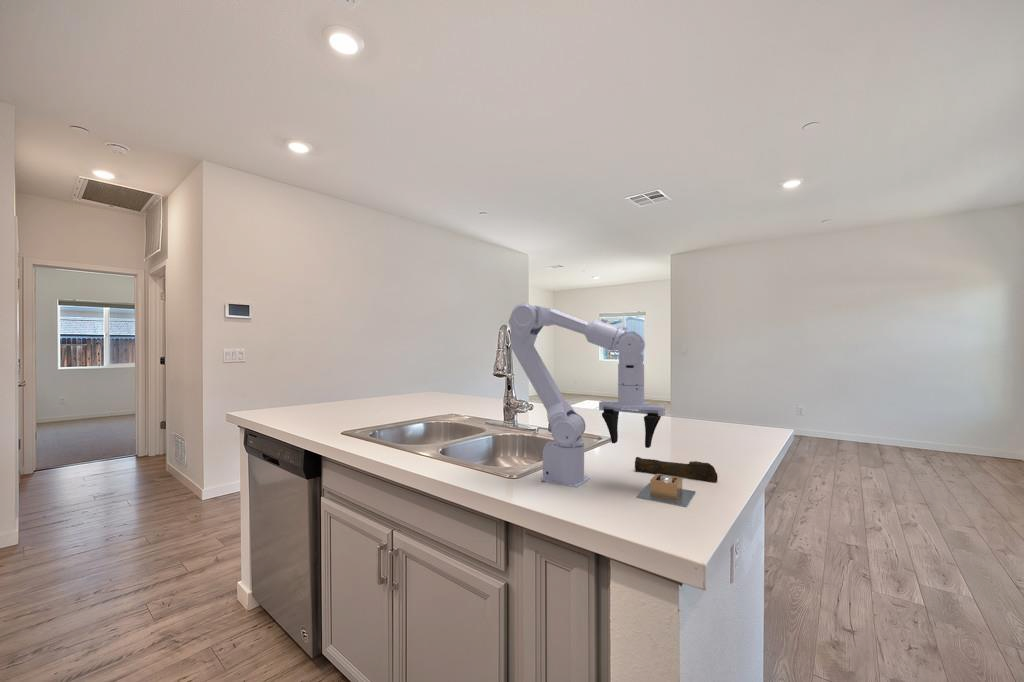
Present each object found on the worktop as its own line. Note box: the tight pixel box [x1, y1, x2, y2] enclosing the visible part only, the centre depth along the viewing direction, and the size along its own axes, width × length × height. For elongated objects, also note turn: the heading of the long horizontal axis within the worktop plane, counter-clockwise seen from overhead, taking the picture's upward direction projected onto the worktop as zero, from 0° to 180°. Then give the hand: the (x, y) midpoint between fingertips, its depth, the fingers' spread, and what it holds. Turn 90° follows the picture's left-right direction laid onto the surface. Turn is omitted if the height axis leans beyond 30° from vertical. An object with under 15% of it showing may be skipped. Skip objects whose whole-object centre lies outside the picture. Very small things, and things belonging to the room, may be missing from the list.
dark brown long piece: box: [634, 456, 718, 483], centre depth 106 cm, size 19×4×5 cm, turn 58°
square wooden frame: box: [649, 473, 683, 500], centre depth 92 cm, size 5×5×3 cm
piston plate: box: [635, 475, 696, 508], centre depth 92 cm, size 10×10×4 cm
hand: (630, 444), depth 97 cm, fingers open, 7 cm apart
